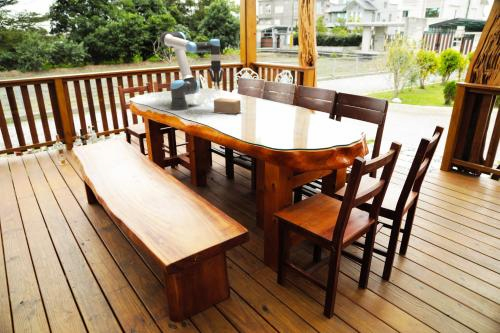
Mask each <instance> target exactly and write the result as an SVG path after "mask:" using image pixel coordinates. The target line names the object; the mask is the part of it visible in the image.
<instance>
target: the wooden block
mask: <svg viewBox="0 0 500 333" xmlns="http://www.w3.org/2000/svg"><path fill="white" fill-rule="evenodd" d="M241 105H242V104H241V99H236V98H235V99H234V98H233V99H232V98H223V97H222V98H221V97H220V98H216V99H214V100H213V111H214V112H215V113H216V112H220V113H219V114H227V113H230V115H236V114H238V113H241V111H242V110H241V109H242V108H241Z"/></svg>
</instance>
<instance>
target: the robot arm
mask: <svg viewBox="0 0 500 333" xmlns="http://www.w3.org/2000/svg"><path fill="white" fill-rule="evenodd" d="M159 41H160V43H161V45H162V46H165V47H167V48H169V47H171V49H172V51H173V52H174V55H175V57H176V60H177V64H178V67H179V71H180V74H181V77H182V79H178V80H173V81H171V82H170V86H169V89H170V95H171V102H170V105H169V106H170V110H173V111H181V110H182V111H183V110H187V109H189V104H188V101H187V100H186V96H188V95H195V94H197V93H198V92H199V90H200V82H199V81H198V80H197V79H195V76H193V74H192V71H191V67H190V64H189V61H188V57H187V54H186V52H187V53H189V54H190V53H191V54H194V53H210V60H211V61H210V68H209V69H208V72H209V75H210V79H211V82H213V87H214V89H215V92H218V91H219V87H220V82H222V79H223V73H224V71H225V69H223V68H222V66H221V64H222V63H221V42H220V39H218V38H216V39H215V38H214V39H210V40H209V41H191V40H187V38H186V35H185V34H184V33H183V32H182V31H177V30H176V31H164V32H162V33H161V34H160V36H159Z"/></svg>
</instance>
